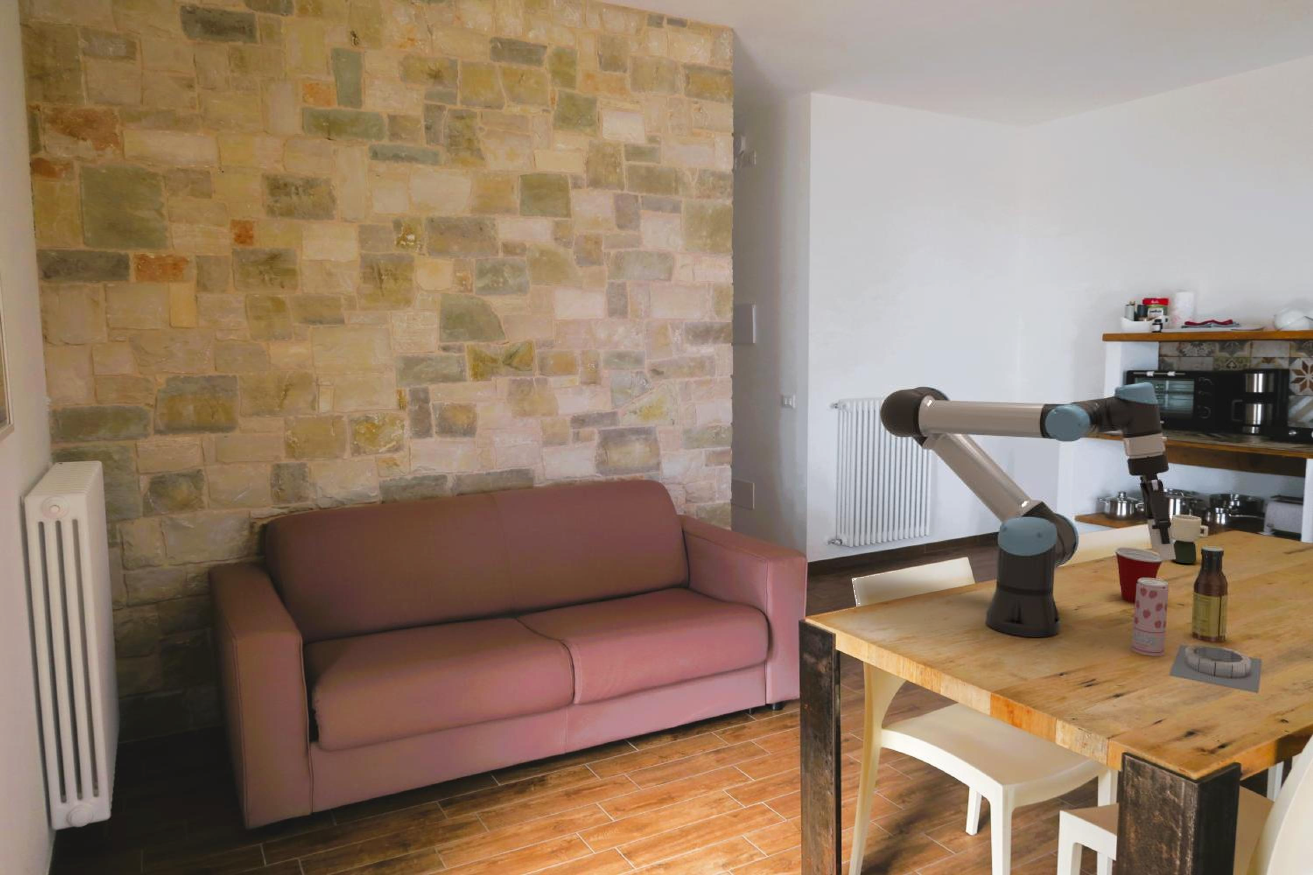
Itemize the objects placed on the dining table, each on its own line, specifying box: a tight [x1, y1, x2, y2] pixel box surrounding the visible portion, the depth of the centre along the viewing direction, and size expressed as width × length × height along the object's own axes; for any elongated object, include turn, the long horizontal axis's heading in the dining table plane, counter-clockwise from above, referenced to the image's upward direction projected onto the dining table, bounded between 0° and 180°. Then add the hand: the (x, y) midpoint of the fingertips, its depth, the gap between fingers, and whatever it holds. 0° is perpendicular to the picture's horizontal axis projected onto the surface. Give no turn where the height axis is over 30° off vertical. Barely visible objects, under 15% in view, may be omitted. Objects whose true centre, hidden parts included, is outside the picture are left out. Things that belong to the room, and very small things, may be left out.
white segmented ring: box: [1185, 644, 1251, 678], centre depth 173 cm, size 10×10×2 cm
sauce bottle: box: [1191, 545, 1229, 643], centre depth 188 cm, size 6×6×20 cm
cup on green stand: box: [1170, 514, 1209, 564], centre depth 250 cm, size 11×7×13 cm, turn 44°
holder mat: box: [1169, 644, 1263, 694], centre depth 173 cm, size 20×14×1 cm
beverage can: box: [1131, 578, 1170, 657], centre depth 181 cm, size 6×6×15 cm
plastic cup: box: [1114, 546, 1165, 604], centre depth 216 cm, size 11×11×12 cm
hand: (1163, 553), depth 190 cm, fingers open, 13 cm apart
